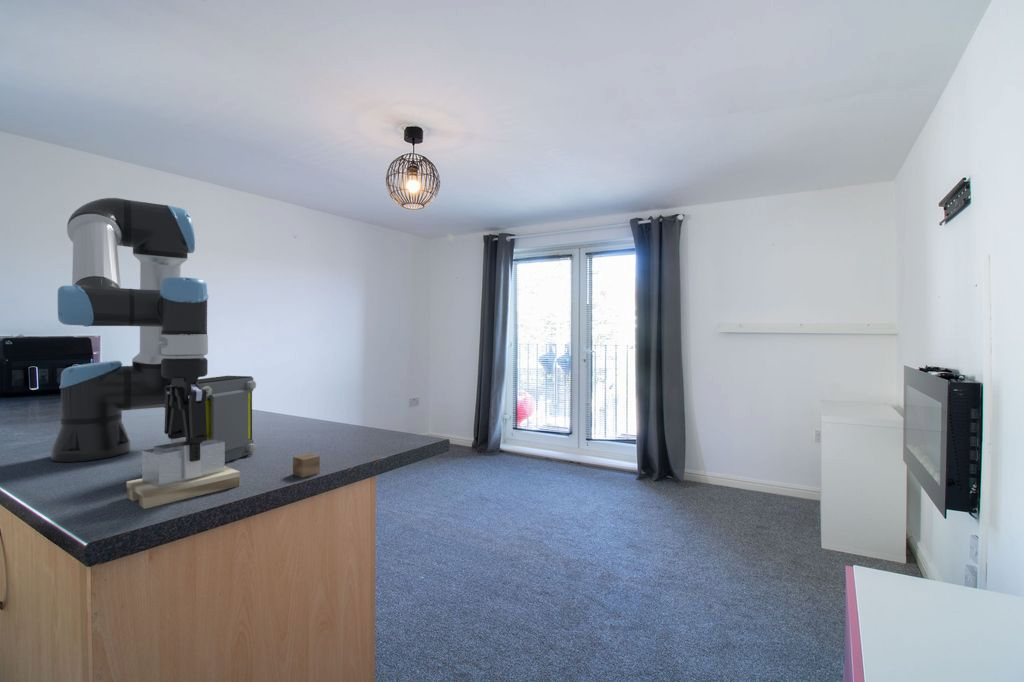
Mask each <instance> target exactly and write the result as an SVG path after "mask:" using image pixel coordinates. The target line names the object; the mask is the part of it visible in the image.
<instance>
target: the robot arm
mask: <svg viewBox="0 0 1024 682" xmlns="http://www.w3.org/2000/svg"><path fill="white" fill-rule="evenodd" d="M66 226H67V227H66V232H67V233H66V234H67V236H68V238H69V239H70V241H71V242H72V270H71V272H72V276H71V277H72V279H71V285H61V286H59V287H58V289H57V318H58V321H59V322H60V323H61V324H62V325H64V326H65V325H66V326H83V327H139V352H138V354H136V355H135V356H134V357H132V360H131V362H132V365H123V363H122V361H120V360H110V361H99V362H91V363H83V364H78V365H73V366H69V367H66V368H64V369H63V370H62V371H61V372H60V373H61V374H60V385H59V389H60V428H59V431H58V433H57V435H56V437H55V441H54V443H53V445H52V448H51V451H50V455H51V456H50V459H51V461H54V462H61V463H62V462H63V463H69V462H85V461H93V460H94V461H95V460H100V459H106V458H112V457H116V456H121V455H124V454H127V453H128V452H130V451H131V440H130V437H129V435H128V432H127V431H126V428H125V426H124V423H123V419H122V417H123V416H122V415H123V414H122V413H123V411H133V410H134V411H135V410H146V409H159V408H164V430H163V431H164V434H165V435H167V437H168V439H169V441H168V444H170V443H176V442H181V441H186V442H183V443H182V445H183V446H184V479H190V478H195V477H199V476H201V443H202V442H203V441H206V440H207V424H206V394H207V391H206V389H202V390H200V387H199V383H198V379H200V378H204V377H206V376H207V375H208V364H209V363H208V359H207V358H206V357H205V356H207V355H208V354H209V342H208V341H209V335H208V299H209V295H208V288H207V287H208V284H207V282H206V281H205V280H203V279H201V278H197V277H196V278H195V277H186V276H184V277H181V266H182V264H184V263H185V262H186V261H188V255H189V254H193V253H194V252H195V249H196V245H195V244H196V240H195V239H196V238H195V231H194V225H193V221H192V217H191V215H190V213H189V212H188V211H187V210H186V209H185V208H182V207H176V206H172V205H168V204H159V203H154V202H153V203H152V202H144V201H137V200H131V199H125V198H120V197H119V198H118V197H105V198H99V199H95V200H92V201H89V202H87V203H85V204H83V205H81V206H80V207H79V208H77V209H75V211H74V212H73V213H72V214H71V215H70V217H69V218H68V222H67V225H66ZM119 246H120V247H127V248H128V247H129V248H132V255H133V256H134V257H135V258H136V259H137V260H138V262H139V263H140V264H139V266H140V268H139V269H140V270H139V271H140V272H139V280H140V281H139V283H140V285H139V288H138V289H137V288H124V287H121V285H122V284H121V274H120V263H119V253H118V247H119ZM171 382H172V383H171ZM168 383H171V385H168ZM184 436H185V437H184ZM181 437H183V438H181Z"/></svg>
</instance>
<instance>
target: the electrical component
mask: <svg viewBox="0 0 1024 682" xmlns="http://www.w3.org/2000/svg"><path fill="white" fill-rule="evenodd" d="M171 383H172V382H171ZM171 383H168V385H171ZM198 383H199V387H200V390H202V389H206V391H207V394H206V424H207V438H208V439H213V440H218V441H223V442H225V463H227V462H231V461H233V460H237V459H240V458H243V457H246V456H249V455H252V454H254V452H256V450H257V445H256V444H255V443H254V439H253V392H254V389H256V386H257V382H256V381H255V380H254V377H253V376H249V375H247V376H246V375H221V376H214V377H213V376H212V377H207V378H206V377H205V378H204V377H203V378H198ZM184 437H185V436H184ZM181 438H183V437H181Z"/></svg>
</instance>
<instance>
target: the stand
mask: <svg viewBox="0 0 1024 682" xmlns="http://www.w3.org/2000/svg"><path fill="white" fill-rule="evenodd" d="M240 476H241V471H239V470H237V469H234V468H233V467H229V466H226V465H225V471H223V472H219V473H215V474H211V475H207V476H203V477H199V478H195V479H191V480H187V481H183V482H179V483H175V484H171V485H167V486H163V487H156V486H153V485H149V484H146V483H143V482H142V478H138V479H132V480H128V481H126V498H127V499H129V500H131V501H132V502H135V501H138V506H140V507H141V508H142V509H143V510H144V509H145V510H146V509H150V508H154V507H157V506H158V507H159V506H162V505H166V504H170V503H175V502H178V501H182V500H187V499H191V498H194V497H198V496H202V495H203V496H204V495H208V494H211V493H212V494H213V493H216V492H219V491H224V490H227V489H231V488H232V489H233V488H236V487H237V488H238V487H239V486H240Z"/></svg>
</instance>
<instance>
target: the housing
mask: <svg viewBox="0 0 1024 682" xmlns="http://www.w3.org/2000/svg"><path fill="white" fill-rule="evenodd" d="M183 442H186V441H181V442H176V443H170V444H169V443H167V444H166V443H165V444H161V445H155V446H153V448H150V449H149V448H148V449H144V450H143V449H142V450H141V479H142V482H143V483H146V484H149V485H153V486H156V487H163V486H167V485H171V484H175V483H179V482H183V481H187V480H191V479H195V478H199V477H203V476H207V475H211V474H215V473H219V472H223V471H225V466H226V465H225V464H226V462H225V442H223V441H218V440H213V439H208V438H207V440H206V441H203V442H202V443H201V476H199V477H195V478H190V479H184V446H183V445H182V443H183Z"/></svg>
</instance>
